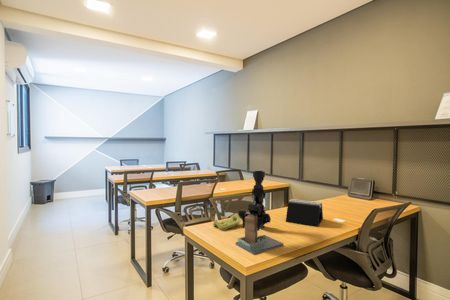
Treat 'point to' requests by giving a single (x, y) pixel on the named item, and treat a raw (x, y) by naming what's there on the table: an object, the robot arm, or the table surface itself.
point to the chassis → (259, 244)
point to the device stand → (304, 212)
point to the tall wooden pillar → (251, 229)
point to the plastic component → (228, 222)
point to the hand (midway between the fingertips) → (250, 229)
